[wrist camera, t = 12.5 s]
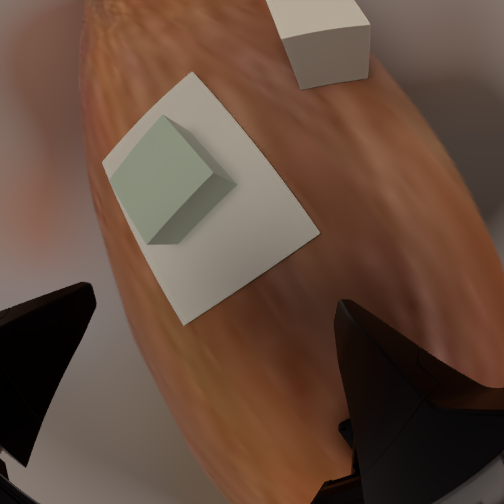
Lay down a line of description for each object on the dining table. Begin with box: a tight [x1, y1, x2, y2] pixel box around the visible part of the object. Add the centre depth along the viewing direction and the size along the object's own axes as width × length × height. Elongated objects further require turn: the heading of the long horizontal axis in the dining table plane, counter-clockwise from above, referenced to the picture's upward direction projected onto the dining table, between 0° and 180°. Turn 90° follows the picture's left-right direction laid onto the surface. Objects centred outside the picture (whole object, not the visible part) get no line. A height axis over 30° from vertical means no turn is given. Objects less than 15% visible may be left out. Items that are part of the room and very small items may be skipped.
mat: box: [102, 72, 321, 326], centre depth 23 cm, size 20×14×1 cm
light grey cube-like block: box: [266, 0, 371, 90], centre depth 16 cm, size 6×6×7 cm
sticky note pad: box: [109, 115, 237, 245], centre depth 21 cm, size 7×7×4 cm
